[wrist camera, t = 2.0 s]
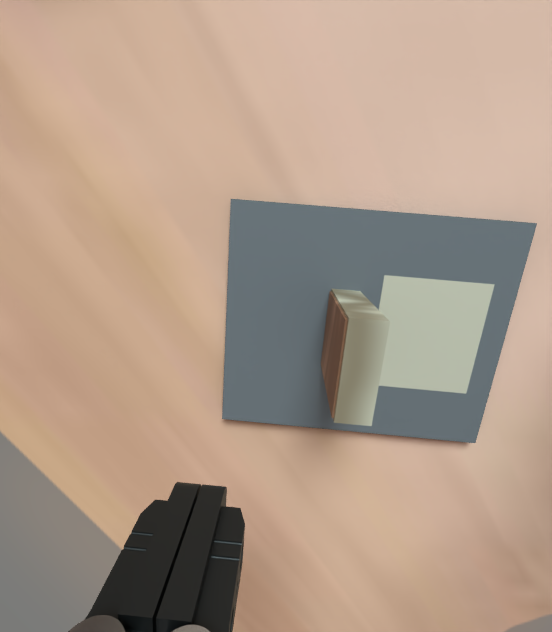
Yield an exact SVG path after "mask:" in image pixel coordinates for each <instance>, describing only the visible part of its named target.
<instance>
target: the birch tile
mask: <svg viewBox="0 0 552 632" xmlns="http://www.w3.org/2000/svg"><path fill="white" fill-rule="evenodd" d="M389 326H390V321H389V320H388V319H387V318H386V317H385V316H384V315H383V314H382V313H381V312H380V311H379V310H378V309H377V308H376V307H375V306H374V305H373V304H372V303H371V302H370V301H369V300H368V299H367V298H366V297H365V296H364V295H363V294H362V293H361V291H354V290H342V289H331V291H330V293H329V301H328V309H327V317H326V325H325V333H324V341H323V349H322V357H321V368H322V373H323V378H324V383H325V388H326V393H327V397H328V402H329V407H330V412H331V417H332V418H333V421H334V423H343V424H353V425H364V426H372V421H373V415H374V410H375V404H376V398H377V393H378V387H379V382H380V376H381V371H382V365H383V359H384V354H385V348H386V343H387V337H388V331H389Z"/></svg>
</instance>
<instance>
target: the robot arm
mask: <svg viewBox="0 0 552 632" xmlns="http://www.w3.org/2000/svg"><path fill="white" fill-rule="evenodd" d="M226 494H227V488H226V487H222V486H212V485H202V486H201V484H191V483H181V482H177V483H176V484H175V486H174V488H173V490H172V492H171V495H170V497H169V499H168V501H163V500H155V501H153V502H152V503H151V504H150V505H149V506H148V507H147V508H146V509H145V510H144V511H143V512H142V513H141V514H140V516H139V518H138V520H137V522H136V524H135V526H134V528H133V530H132V533H131V535H130V536H129V537H128V539H127V541H126V543H125V545H124V549H123V550H122V551H121V553H120V555H119V557H118V559H117V561H116V563H115V565H114V567H113V569H112V570H111V572H110V574H109V576H108V578H107V580H106V582H105V584H104V586H103V588H102V590H101V592H100V593H99V595H98V597H97V599H96V601H95V603H94V605H93V607H92V609H91V611H90V612H89V614H88V616H87V617H86V619H85V620H84V621H82V622H80V623H78V624H77V625H76V626H75V627H73V628H72V629H71V630H70V631H68V632H232V631H233V624H234V617H235V610H236V603H237V596H238V589H239V582H240V576H241V569H242V560H243V545H244V530H245V523H244V519H243V516H242V512H241V509H240V508H234V507H226Z"/></svg>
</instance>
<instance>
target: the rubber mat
mask: <svg viewBox="0 0 552 632" xmlns="http://www.w3.org/2000/svg"><path fill="white" fill-rule="evenodd" d="M536 225H537V223H526V222H513V221H501V220H488V219H476V218H463V217H451V216H438V215H426V214H413V213H401V212H388V211H376V210H364V209H351V208H339V207H326V206H314V205H301V204H289V203H276V202H264V201H251V200H239V199H231V210H230V235H229V261H228V286H227V312H226V337H225V363H224V389H223V414H222V419H228V420H239V421H249V422H259V423H270V424H280V425H291V426H301V427H312V428H322V429H333V430H343V431H354V432H364V433H375V434H385V435H396V436H406V437H417V438H427V439H438V440H448V441H459V442H469V443H475V442H476V438H477V435H478V431H479V428H480V424H481V421H482V417H483V414H484V410H485V406H486V403H487V399H488V396H489V392H490V389H491V385H492V381H493V378H494V374H495V371H496V367H497V364H498V360H499V357H500V353H501V349H502V346H503V342H504V339H505V335H506V332H507V328H508V325H509V321H510V317H511V314H512V310H513V307H514V303H515V300H516V296H517V293H518V289H519V285H520V282H521V278H522V275H523V271H524V268H525V264H526V260H527V257H528V253H529V250H530V246H531V243H532V239H533V236H534V232H535V228H536ZM331 289H342V290H354V291H361V293H362V294H363V295H364V296H365V297H366V298H367V299H368V300H369V301H370V302H371V303H372V304H373V305H374V306H375V307H376V308H377V309H378V310H379V311H380V312H381V313H382V314H383V315H384V316H385V317H386V318H387V319H388V320H389V321H390V326H389V331H388V337H387V343H386V348H385V354H384V359H383V365H382V371H381V376H380V382H379V387H378V393H377V398H376V404H375V410H374V415H373V421H372V426H364V425H353V424H343V423H334V421H333V418H332V417H331V412H330V407H329V402H328V397H327V393H326V388H325V383H324V378H323V373H322V368H321V357H322V349H323V341H324V333H325V325H326V317H327V309H328V301H329V293H330V291H331Z"/></svg>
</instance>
